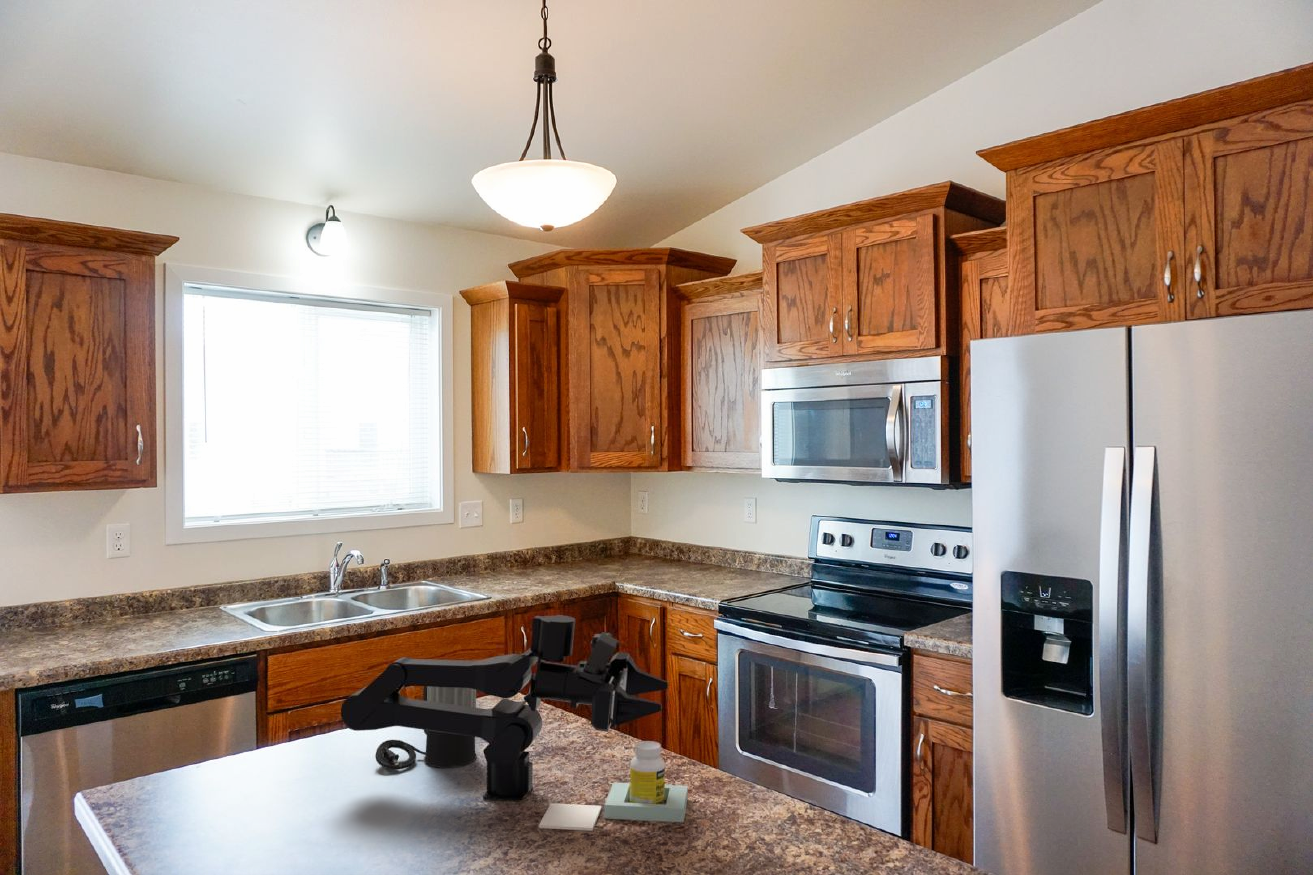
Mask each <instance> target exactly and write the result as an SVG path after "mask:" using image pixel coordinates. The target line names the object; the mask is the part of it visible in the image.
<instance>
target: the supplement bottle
mask: <svg viewBox="0 0 1313 875" xmlns="http://www.w3.org/2000/svg"><path fill="white" fill-rule="evenodd" d="M634 746H635V747H634V752H635V753H634V754H635V756H634V757H633V758H632V759H631V761H630V767H629V768H630V770H629V774H630V776H629V783H630V799H629V803H645V804H664V805H665V801H664V790H665V785H666V782H665V781H666V780H665V777H666V773H665V772H666V770H665V769H666V763H665V760H664V759H663V758H662V757H661V754H662V744H661V743H659V742H657V741H652V740H643V741H639V742H636V744H635V745H634Z"/></svg>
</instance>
